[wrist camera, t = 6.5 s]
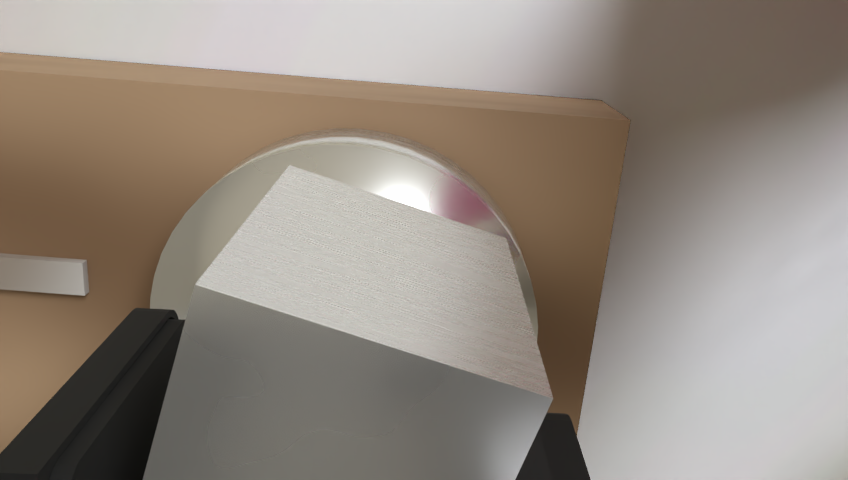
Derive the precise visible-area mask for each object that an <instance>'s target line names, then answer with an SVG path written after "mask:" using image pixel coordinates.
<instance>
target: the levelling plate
mask: <svg viewBox="0 0 848 480" xmlns="http://www.w3.org/2000/svg"><path fill="white" fill-rule="evenodd" d="M630 121H631V120H629V119H628V118H626V117H625V116H624V115H622V114H621V113H619V112H618V111H616V110H615V109H613V108H612V107H610V106H609V105H607V104H606V103H604V102H603V101H602V100H590V99H577V98H565V97H552V96H540V95H527V94H515V93H502V92H490V91H477V90H465V89H453V88H440V87H428V86H415V85H403V84H390V83H378V82H365V81H353V80H340V79H328V78H315V77H303V76H290V75H278V74H265V73H253V72H240V71H228V70H215V69H203V68H190V67H178V66H166V65H153V64H141V63H128V62H116V61H103V60H91V59H78V58H66V57H53V56H41V55H28V54H16V53H3V52H0V453H1V452H2V451H3V450H4V449H5V448H6V447H7V446H8V445H9V443H10V442H11V441H12V440H13V439H14V438H15V437H16V436H17V435H18V434H19V433H20V432H21V430H22V429H23V428H24V427H25V426H26V425H27V424H28V423H29V422H30V421H31V420H32V419H33V417H34V416H35V415H36V414H37V413H38V412H39V411H40V410H41V409H42V408H43V407H44V406H45V404H46V403H47V402H48V401H49V400H50V399H51V398H52V397H53V396H54V395H55V394H56V393H57V391H58V390H59V389H60V388H61V387H62V386H63V385H64V384H65V383H66V382H67V381H68V380H69V378H70V377H71V376H72V375H73V374H74V373H75V372H76V371H77V370H78V369H79V368H80V367H81V365H82V364H83V363H84V362H85V361H86V360H87V359H88V358H89V357H90V356H91V355H92V354H93V352H94V351H95V350H96V349H97V348H98V347H99V346H100V345H101V344H102V343H103V342H104V340H105V339H106V338H107V337H108V336H109V335H110V334H111V333H112V332H113V331H114V330H115V329H116V327H117V326H118V325H119V324H120V323H121V322H122V321H123V320H124V319H125V318H126V317H127V316H128V314H129V313H130V312H131V311H132V310H133V309H135V308H150V297H151V291H152V285H153V279H154V274H155V271H156V268H157V265H158V262H159V259H160V256H161V253H162V251H163V249H164V247H165V245H166V243H167V241H168V239H169V237H170V235H171V233H172V231H173V230H174V229H175V227H176V226H177V224H178V223H179V222H180V220H181V219H182V217H183V216H184V214H185V213H186V212H187V211H188V210H189V209H190V208H191V206H192V205H193V204H194V203H195V202H196V201H197V200H198V199H199V198H200V197H201V196H202V195H203V194H204V193H205V192H206V191H207V190H208V189H209V188H211V187H212V186H213V185H214V184H215V183H216V182H217V181H218V180H219V179H220V178H221V177H223V176H224V175H225V174H226V173H227V172H228V171H229V170H231V169H232V168H233V167H235V166H236V165H237V164H238V163H240V162H241V161H242V160H243V159H245V158H246V157H248V156H250V155H252V154H253V153H255V152H257V151H258V150H260V149H262V148H264V147H265V146H268V145H270V144H273V143H275V142H278V141H280V140H282V139H285V138H287V137H291V136H295V135H299V134H303V133H307V132H310V131H318V130H326V129H334V128H350V129H367V130H374V131H381V132H387V133H390V134H394V135H397V136H401V137H405V138H408V139H411V140H413V141H416V142H418V143H420V144H423V145H425V146H427V147H430V148H432V149H434V150H436V151H437V152H439V153H441V154H442V155H444V156H446V157H447V158H449V159H451V160H453V161H454V162H455V163H457V164H458V165H459V166H460V167H462V168H463V169H464V170H466V171H467V172H468V173H469V174H471V175H472V176H473V177H474V178H475V179H476V180H477V181H478V182H479V183H480V184H481V185H482V186H483V187H484V188H485V189H486V190H487V191H488V192H489V194H490V195H491V196H492V198H493V199H494V200H495V202H496V203H497V204H498V206H499V207H500V208H501V210H502V211H503V213H504V215H505V217H506V218H507V220H508V222H509V224H510V226H511V227H512V229H513V231H514V234H515V237H516V239H517V242H518V244H519V247H520V250H521V252H522V255H523V258H524V261H525V264H526V267H527V270H528V273H529V276H530V279H531V283H532V287H533V292H534V296H535V301H536V307H537V320H538V335H537V344H538V348H539V351H540V355H541V358H542V362H543V365H544V368H545V372H546V375H547V379H548V382H549V385H550V389H551V392H552V396H553V400H552V403H551V405H550V407H549V409H548V411H547V413H565V414H568V415H569V416H570V418H571V420H572V423H573V426H574V430H575V433H576V436H577V431H578V425H579V419H580V414H581V408H582V402H583V396H584V390H585V384H586V378H587V373H588V367H589V361H590V355H591V349H592V343H593V337H594V332H595V326H596V320H597V314H598V308H599V302H600V297H601V291H602V285H603V279H604V273H605V267H606V261H607V256H608V250H609V244H610V238H611V232H612V226H613V220H614V215H615V209H616V203H617V197H618V191H619V185H620V179H621V174H622V168H623V162H624V156H625V150H626V144H627V138H628V133H629V127H630Z"/></svg>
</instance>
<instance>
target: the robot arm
mask: <svg viewBox="0 0 848 480" xmlns="http://www.w3.org/2000/svg"><path fill="white" fill-rule="evenodd" d="M184 323H185V320H181V319H178V316H177V313H176V312H175V310H170V309H150V308H135V309H133V310H132V311H131V312H130V313H129V314H128V316H127V317H126V318H125V319H124V320H123V321H122V322H121V323H120V324H119V325H118V326H117V327H116V329H115V330H114V331H113V332H112V333H111V334H110V335H109V336H108V337H107V338H106V339H105V340H104V342H103V343H102V344H101V345H100V346H99V347H98V348H97V349H96V350H95V351H94V352H93V354H92V355H91V356H90V357H89V358H88V359H87V360H86V361H85V362H84V363H83V364H82V365H81V367H80V368H79V369H78V370H77V371H76V372H75V373H74V374H73V375H72V376H71V377H70V378H69V380H68V381H67V382H66V383H65V384H64V385H63V386H62V387H61V388H60V389H59V390H58V391H57V393H56V394H55V395H54V396H53V397H52V398H51V399H50V400H49V401H48V402H47V403H46V404H45V406H44V407H43V408H42V409H41V410H40V411H39V412H38V413H37V414H36V415H35V416H34V417H33V419H32V420H31V421H30V422H29V423H28V424H27V425H26V426H25V427H24V428H23V429H22V430H21V432H20V433H19V434H18V435H17V436H16V437H15V438H14V439H13V440H12V441H11V442H10V443H9V445H8V446H7V447H6V448H5V449H4V450H3V451H2V452H1V453H0V480H143V476H144V473H145V469H146V465H147V462H148V458H149V454H150V450H151V447H152V443H153V439H154V435H155V432H156V428H157V424H158V420H159V417H160V413H161V409H162V405H163V402H164V398H165V394H166V390H167V387H168V383H169V379H170V375H171V372H172V368H173V364H174V360H175V357H176V353H177V349H178V345H179V342H180V338H181V334H182V330H183V327H184ZM515 480H590V477H589V474H588V470H587V467H586V464H585V461H584V458H583V455H582V452H581V448H580V445H579V442H578V439H577V436H576V433H575V430H574V426H573V423H572V420H571V418H570V416H569V415H568V414H565V413H546V415H545V417H544V420H543V422H542V424H541V426H540V428H539V430H538V432H537V434H536V437H535V439H534V441H533V443H532V445H531V447H530V449H529V452H528V454H527V456H526V458H525V460H524V462H523V464H522V466H521V469H520V471H519V473H518V475H517V477H516V479H515Z"/></svg>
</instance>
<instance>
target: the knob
mask: <svg viewBox="0 0 848 480" xmlns="http://www.w3.org/2000/svg"><path fill="white" fill-rule="evenodd" d="M150 309H170V310H175V312H176V313H177V316H178V319H181V320H185V323H184V327H183V330H182V334H181V338H180V342H179V345H178V349H177V353H176V357H175V360H174V364H173V368H172V372H171V375H170V379H169V383H168V387H167V390H166V394H165V398H164V402H163V405H162V409H161V413H160V417H159V420H158V424H157V428H156V432H155V435H154V439H153V443H152V447H151V450H150V454H149V458H148V462H147V465H146V469H145V473H144V476H143V480H515V479H516V477H517V475H518V473H519V471H520V469H521V466H522V464H523V462H524V460H525V458H526V456H527V454H528V452H529V449H530V447H531V445H532V443H533V441H534V439H535V437H536V434H537V432H538V430H539V428H540V426H541V424H542V422H543V420H544V417H545V415H546V413H547V411H548V409H549V407H550V405H551V403H552V400H553V396H552V392H551V389H550V385H549V382H548V379H547V375H546V372H545V368H544V365H543V362H542V358H541V355H540V351H539V348H538V344H537V335H538V320H537V307H536V301H535V296H534V292H533V287H532V283H531V279H530V276H529V273H528V270H527V267H526V264H525V261H524V258H523V255H522V252H521V250H520V247H519V244H518V242H517V239H516V237H515V234H514V231H513V229H512V227H511V226H510V224H509V222H508V220H507V218H506V217H505V215H504V213H503V211H502V210H501V208H500V207H499V206H498V204H497V203H496V202H495V200H494V199H493V198H492V196H491V195H490V194H489V192H488V191H487V190H486V189H485V188H484V187H483V186H482V185H481V184H480V183H479V182H478V181H477V180H476V179H475V178H474V177H473V176H472V175H471V174H469V173H468V172H467V171H466V170H464V169H463V168H462V167H460V166H459V165H458V164H457V163H455V162H454V161H453V160H451V159H449V158H447V157H446V156H444V155H442V154H441V153H439V152H437V151H436V150H434V149H432V148H430V147H427V146H425V145H423V144H420V143H418V142H416V141H413V140H411V139H408V138H405V137H401V136H397V135H394V134H390V133H387V132H381V131H374V130H367V129H350V128H334V129H326V130H318V131H310V132H307V133H303V134H299V135H295V136H291V137H287V138H285V139H282V140H280V141H278V142H275V143H273V144H270V145H268V146H265V147H264V148H262V149H260V150H258V151H257V152H255V153H253V154H252V155H250V156H248V157H246V158H245V159H243V160H242V161H241V162H240V163H238V164H237V165H236V166H235V167H233V168H232V169H231V170H229V171H228V172H227V173H226V174H225V175H224V176H223V177H221V178H220V179H219V180H218V181H217V182H216V183H215V184H214V185H213V186H212V187H211V188H209V189H208V190H207V191H206V192H205V193H204V194H203V195H202V196H201V197H200V198H199V199H198V200H197V201H196V202H195V203H194V204H193V205H192V206H191V208H190V209H189V210H188V211H187V212H186V213H185V214H184V216H183V217H182V219H181V220H180V222H179V223H178V224H177V226H176V227H175V229H174V230H173V231H172V233H171V235H170V237H169V239H168V241H167V243H166V245H165V247H164V249H163V251H162V253H161V256H160V259H159V262H158V265H157V268H156V271H155V274H154V279H153V285H152V291H151V297H150Z"/></svg>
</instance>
